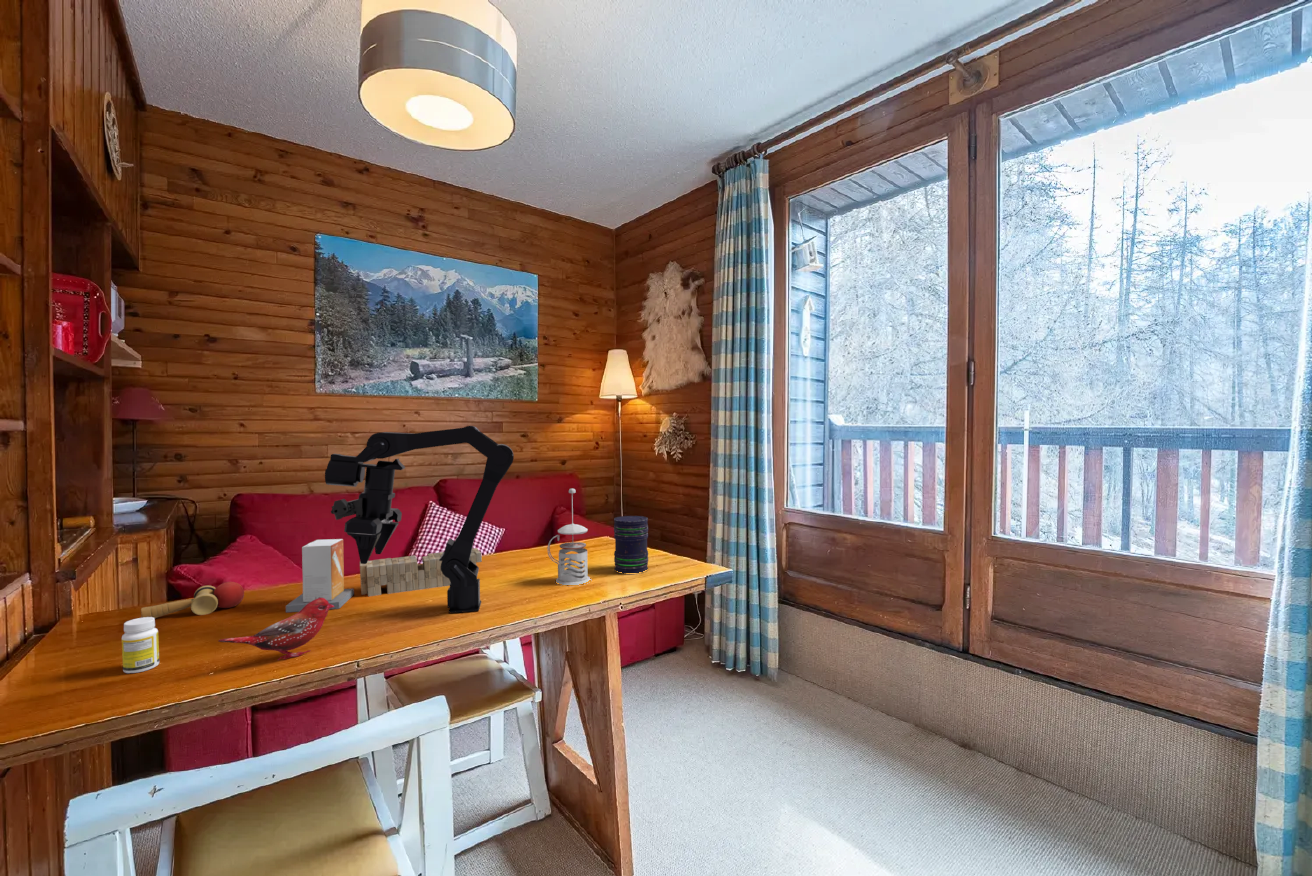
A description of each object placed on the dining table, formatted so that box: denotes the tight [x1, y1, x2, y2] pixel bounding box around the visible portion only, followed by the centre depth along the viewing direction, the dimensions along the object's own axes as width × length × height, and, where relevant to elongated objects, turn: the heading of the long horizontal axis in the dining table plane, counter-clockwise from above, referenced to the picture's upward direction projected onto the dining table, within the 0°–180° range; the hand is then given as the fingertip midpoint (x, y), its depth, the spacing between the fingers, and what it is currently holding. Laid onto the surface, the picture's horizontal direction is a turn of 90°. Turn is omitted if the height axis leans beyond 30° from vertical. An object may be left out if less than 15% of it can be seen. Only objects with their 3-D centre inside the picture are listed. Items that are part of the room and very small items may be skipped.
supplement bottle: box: [121, 617, 160, 674], centre depth 98 cm, size 5×5×8 cm
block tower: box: [359, 547, 483, 597], centre depth 148 cm, size 8×8×29 cm
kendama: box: [140, 581, 245, 619], centre depth 127 cm, size 8×6×18 cm
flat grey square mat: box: [285, 588, 355, 613], centre depth 133 cm, size 11×11×2 cm
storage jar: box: [613, 515, 649, 573], centre depth 161 cm, size 10×10×15 cm
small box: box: [301, 538, 345, 602], centre depth 133 cm, size 8×6×13 cm
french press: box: [547, 488, 592, 586], centre depth 151 cm, size 10×12×25 cm
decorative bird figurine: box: [217, 598, 334, 661], centre depth 101 cm, size 3×18×10 cm, turn 134°
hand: (371, 558), depth 124 cm, fingers open, 9 cm apart
